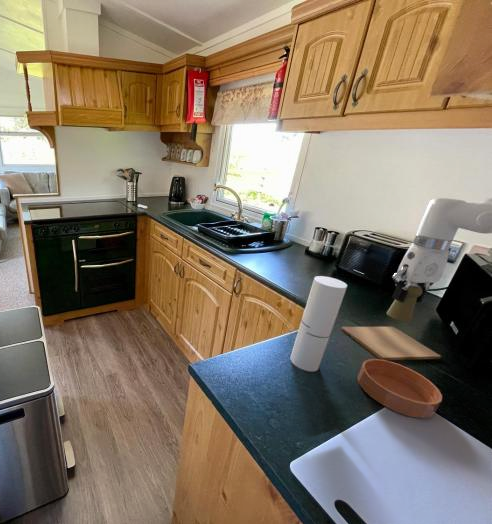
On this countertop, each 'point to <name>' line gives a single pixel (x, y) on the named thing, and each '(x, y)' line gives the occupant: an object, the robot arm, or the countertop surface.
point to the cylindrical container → (317, 322)
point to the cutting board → (390, 343)
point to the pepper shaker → (405, 305)
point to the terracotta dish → (399, 388)
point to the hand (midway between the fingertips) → (406, 299)
